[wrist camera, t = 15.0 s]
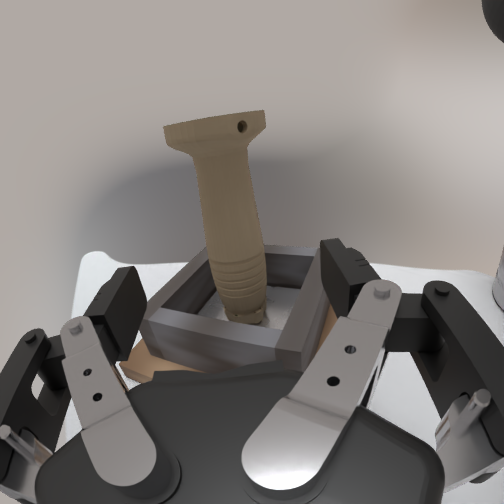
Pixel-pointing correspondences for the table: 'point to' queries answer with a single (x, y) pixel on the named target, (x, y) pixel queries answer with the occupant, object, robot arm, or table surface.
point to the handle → (228, 207)
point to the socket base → (231, 333)
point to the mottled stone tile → (276, 309)
